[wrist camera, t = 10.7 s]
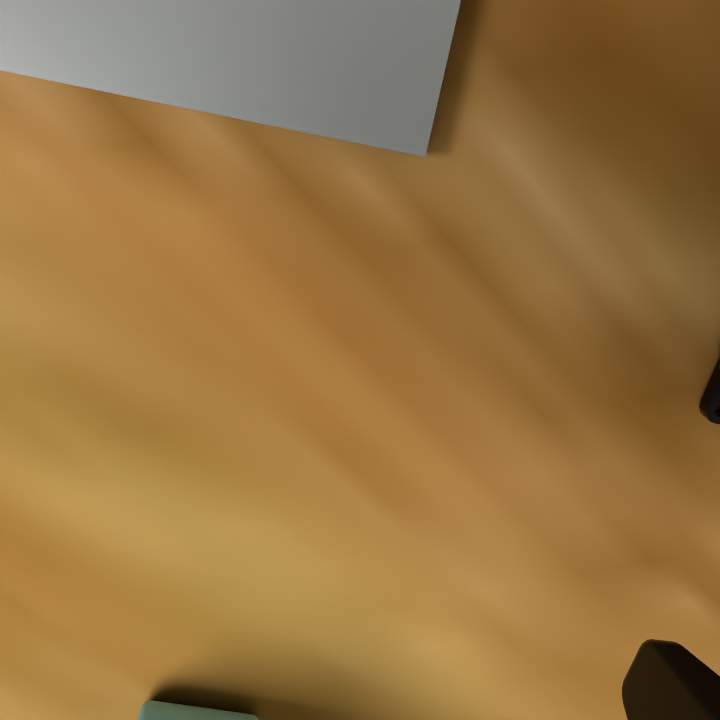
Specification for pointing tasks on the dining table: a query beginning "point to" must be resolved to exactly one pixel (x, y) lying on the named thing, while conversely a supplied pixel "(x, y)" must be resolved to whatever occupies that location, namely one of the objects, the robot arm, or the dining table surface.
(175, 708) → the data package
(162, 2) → the header board
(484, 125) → the dining table surface
